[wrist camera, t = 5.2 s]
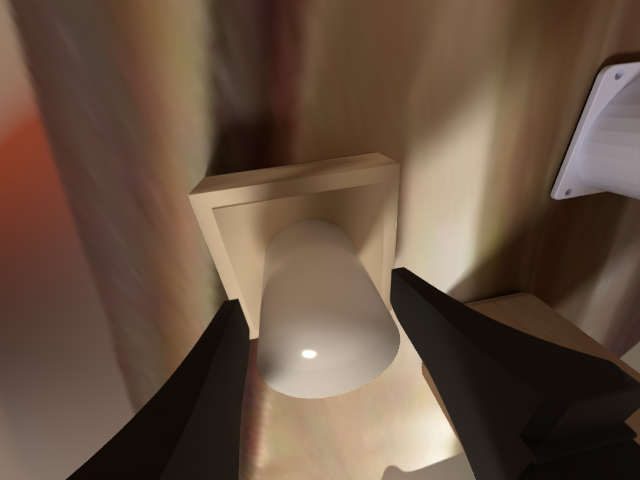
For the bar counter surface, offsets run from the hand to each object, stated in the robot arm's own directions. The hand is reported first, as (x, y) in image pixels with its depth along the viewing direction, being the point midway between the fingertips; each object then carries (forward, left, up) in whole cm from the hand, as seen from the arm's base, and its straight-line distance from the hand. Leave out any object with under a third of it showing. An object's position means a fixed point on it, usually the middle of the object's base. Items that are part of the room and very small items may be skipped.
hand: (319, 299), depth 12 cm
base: (0, 0, -6) cm, 6 cm away
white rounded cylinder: (0, 0, -3) cm, 3 cm away
